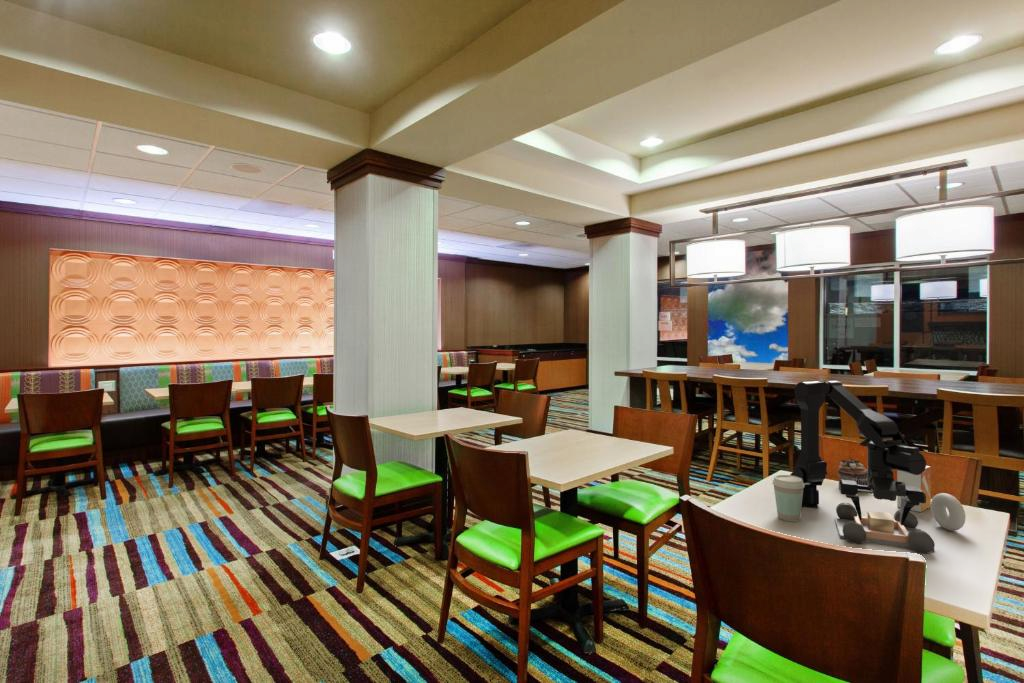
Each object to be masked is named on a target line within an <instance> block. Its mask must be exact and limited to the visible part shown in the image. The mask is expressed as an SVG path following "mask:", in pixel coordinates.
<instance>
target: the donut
mask: <svg viewBox="0 0 1024 683" xmlns="http://www.w3.org/2000/svg"><path fill="white" fill-rule="evenodd" d="M930 510H931V511H930V512H931V514H932V517H933V518H934V520H935V522H936V523H937V525H939V526H940V527H942V528H943V529H945V530H947V531H951V532H952V531H953V532H954V531H959V530H960V529H962V528H963V527H964V525H965V523H966V519H967V518H966V512H965V509H964V507H963V505H962V504H961V501H959V500H958V498H956V496H954V495H952V494H949V493H945V492H940V493H937V494H935V495H934V496H933V497H932V499H931V507H930ZM947 511H948V512H947Z"/></svg>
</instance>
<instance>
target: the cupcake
mask: <svg viewBox="0 0 1024 683" xmlns="http://www.w3.org/2000/svg"><path fill="white" fill-rule="evenodd" d="M839 464H840V465H839V466H838V467H837V468H838V471H837V475H838V479H839V481H840V480H851V481H856V483H857V485H865V486H868V478H867V468H865V466H864V464H862V463H860V461H859V460H853V458H849V459H848V460H845V459H843V460H841V461H840V463H839Z"/></svg>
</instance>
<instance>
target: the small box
mask: <svg viewBox="0 0 1024 683" xmlns="http://www.w3.org/2000/svg"><path fill="white" fill-rule="evenodd" d="M931 468H932V466H929V465H926V468H925V470H924V471H923V473H921V474H919V475H914V474H910V473H906V472H902V471H899V470H896V472H897V473H896V475H897V477H896V478H897V480H896V481H899V482H905V485H906V486H912V487H919V488H920V489H921V490H922V491H923V492H924V493H925V494H926V503H920V504H919V505H915V506H914V507H912V508H911V510H910V511H912V512H918V513H922V512H924V511H926V510H928V509H930V508H931V501H932V499H931V496H932V493H931V490H932V489H931V487H932V486H931V484H932V478H931V477H932V476H931V475H932V471H931V470H932V469H931ZM896 502H897V504H896V505H897V506H896V507H897V508H900V507H901V496H896ZM929 507H930V508H929ZM927 508H928V509H927Z"/></svg>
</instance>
